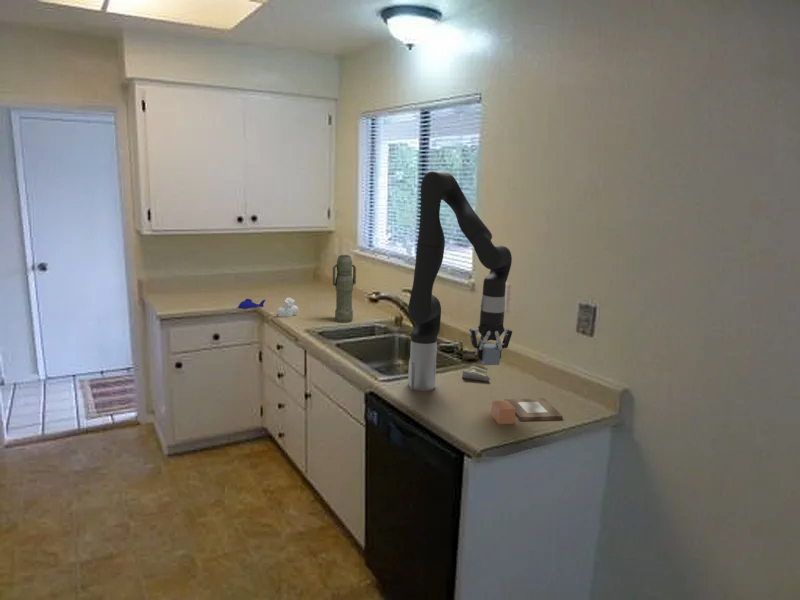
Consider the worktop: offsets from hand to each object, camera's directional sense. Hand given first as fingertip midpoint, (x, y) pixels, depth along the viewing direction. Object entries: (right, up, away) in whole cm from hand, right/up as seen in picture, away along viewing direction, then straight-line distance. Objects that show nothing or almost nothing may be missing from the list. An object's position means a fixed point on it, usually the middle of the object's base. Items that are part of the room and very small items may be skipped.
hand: (488, 359), depth 187 cm
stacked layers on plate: (-1, -11, +28) cm, 30 cm away
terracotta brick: (+3, -18, -7) cm, 20 cm away
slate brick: (0, -1, 0) cm, 1 cm away
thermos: (-57, +7, +109) cm, 123 cm away
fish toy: (-111, +13, +132) cm, 173 cm away
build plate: (+14, -17, 0) cm, 22 cm away
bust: (-88, +10, +117) cm, 147 cm away
